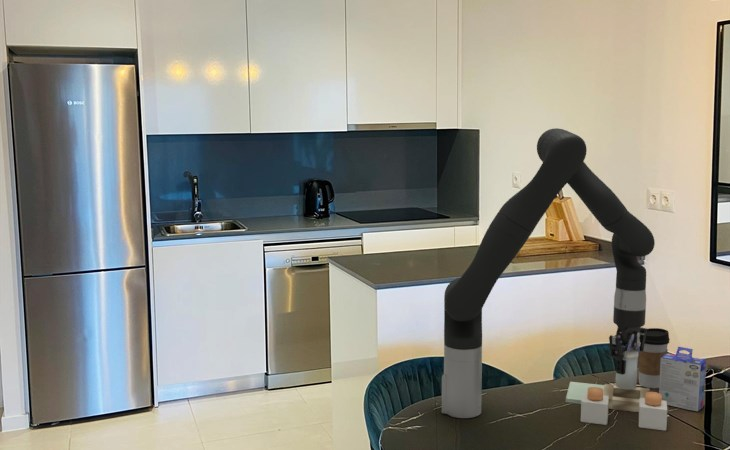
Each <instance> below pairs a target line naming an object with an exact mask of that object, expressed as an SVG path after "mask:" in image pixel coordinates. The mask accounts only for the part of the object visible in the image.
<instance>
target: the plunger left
mask: <svg viewBox="0 0 730 450" xmlns="http://www.w3.org/2000/svg"><path fill="white" fill-rule="evenodd" d="M587 397H588V398H589V399H591V400H602V399H603V389H601V388H598V387H589V388H588V393H587Z"/></svg>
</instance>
